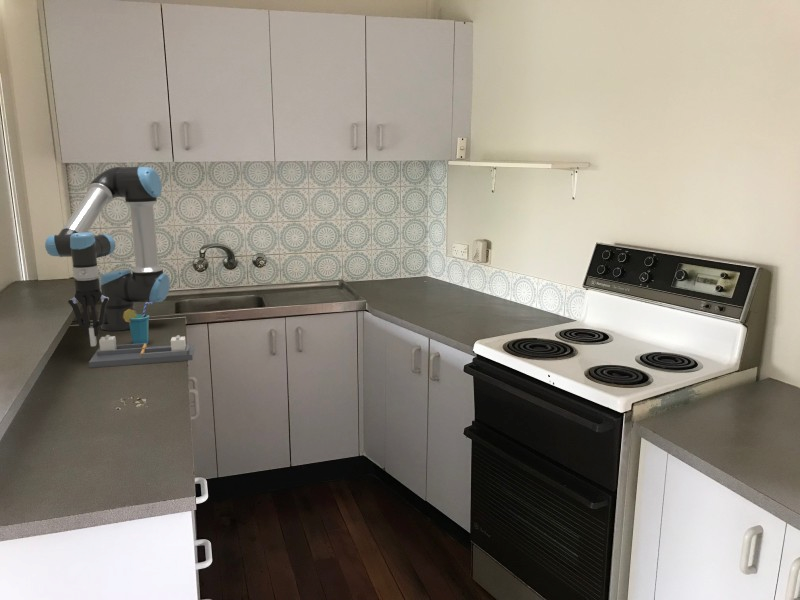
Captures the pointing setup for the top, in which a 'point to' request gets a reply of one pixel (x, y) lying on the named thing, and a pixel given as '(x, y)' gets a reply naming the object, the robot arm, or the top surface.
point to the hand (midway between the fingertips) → (93, 345)
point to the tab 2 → (178, 343)
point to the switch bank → (139, 355)
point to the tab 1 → (108, 343)
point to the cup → (138, 324)
